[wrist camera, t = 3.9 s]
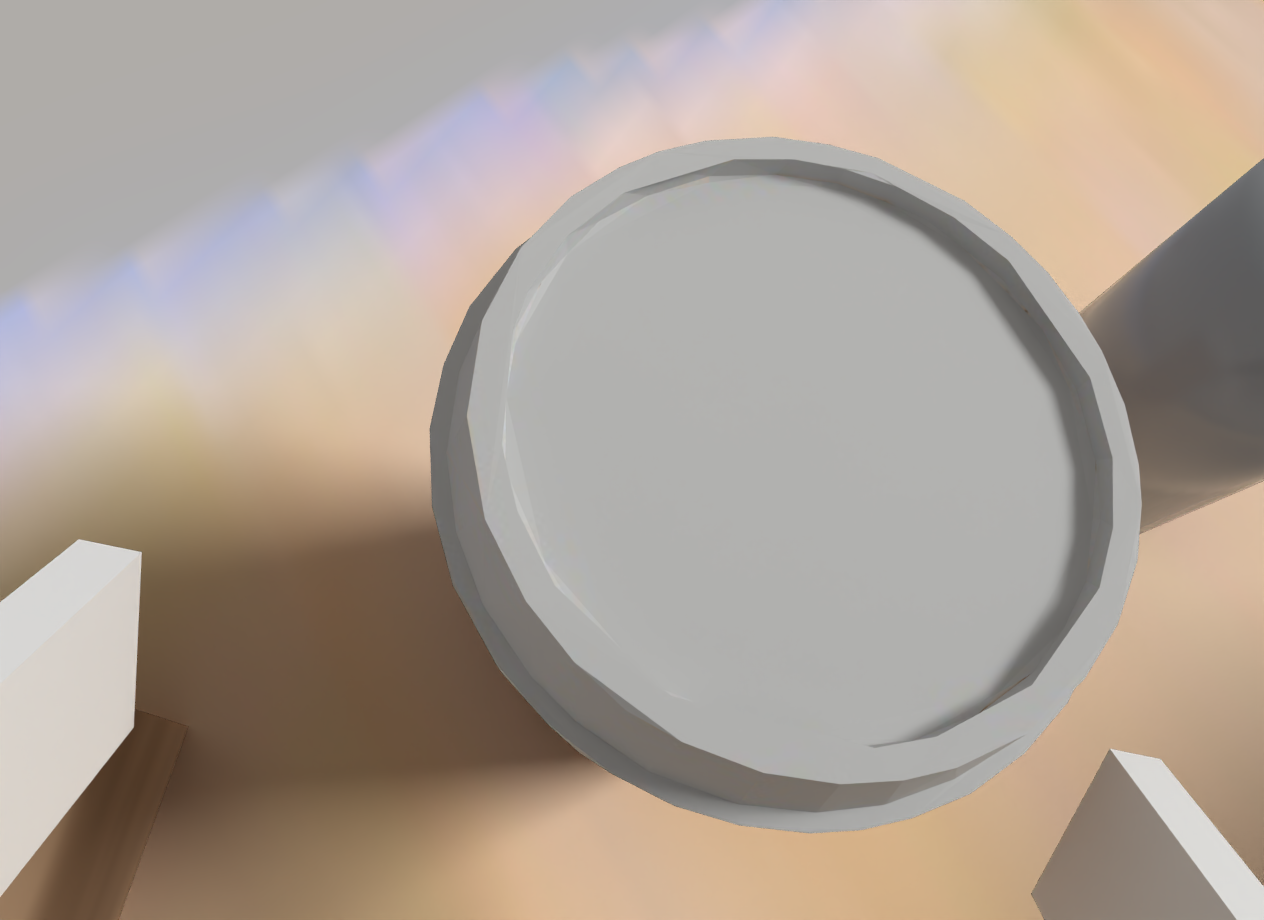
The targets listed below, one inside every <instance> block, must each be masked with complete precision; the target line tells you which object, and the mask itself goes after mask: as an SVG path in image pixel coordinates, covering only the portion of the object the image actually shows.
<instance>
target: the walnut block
mask: <svg viewBox="0 0 1264 920" xmlns="http://www.w3.org/2000/svg"><path fill="white" fill-rule="evenodd" d="M187 729H188V727H187V726H184V725H181V724H178V723H175V722H172V721H169V720H166V719H163V718H160V717H157V716H154V715H151V714H148V713H145V712H142V711H139V710H136V709H135V712H134V728H133V729H132V730H131V731H130V733H129V734H128V735H127V737H126V738H125V739H124V740H123V742H122V743H121V744H120V745H119V747H118V748H117V749H116V751H115V752H114V753H113V754H112V756H111V757H110V758H109V759H108V761H107V762H106V763H105V764H104V766H103V767H102V768H101V770H100V771H99V772H98V773H97V775H96V776H95V777H94V778H93V780H92V781H91V782H90V784H89V785H88V786H87V787H86V789H85V790H84V791H83V792H82V794H81V795H80V796H79V798H78V799H77V800H76V801H75V803H74V804H73V805H72V806H71V808H70V809H69V810H68V812H67V813H66V814H65V815H64V817H63V818H62V819H61V820H60V822H59V823H58V824H57V825H56V827H55V828H54V829H53V831H52V832H51V833H50V834H49V836H48V837H47V838H46V839H45V841H44V842H43V843H42V845H41V846H40V847H39V848H38V850H37V851H36V852H35V853H34V855H33V856H32V857H31V859H30V860H29V861H28V862H27V864H26V865H25V866H24V867H23V869H22V870H21V871H20V873H19V874H18V875H17V876H16V878H15V879H14V880H13V881H12V883H11V884H10V885H9V887H8V888H7V889H6V890H5V892H4V893H3V894H2V895H1V897H0V920H119V917H120V914H121V911H122V909H123V906H124V903H125V900H126V898H127V895H128V892H129V889H130V887H131V884H132V881H133V878H134V876H135V873H136V870H137V867H138V865H139V862H140V859H141V856H142V853H143V851H144V848H145V845H146V842H147V840H148V837H149V834H150V831H151V829H152V826H153V823H154V820H155V818H156V815H157V812H158V809H159V807H160V804H161V801H162V798H163V795H164V793H165V790H166V787H167V784H168V782H169V779H170V776H171V773H172V771H173V768H174V765H175V762H176V760H177V757H178V754H179V751H180V748H181V746H182V743H183V740H184V737H185V735H186V732H187Z"/></svg>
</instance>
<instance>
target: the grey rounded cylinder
mask: <svg viewBox="0 0 1264 920" xmlns="http://www.w3.org/2000/svg"><path fill="white" fill-rule="evenodd" d="M1079 314H1080V316H1081V317H1082V319H1083V321H1084V322H1085V324H1086V326H1087V327H1088V329H1089V331H1090V332H1091V334H1092V336H1093V337H1094V339H1095V340H1096V342H1097V344H1098V345H1099V347H1100V349H1101V350H1102V352H1103V355H1104V357H1105V359H1106V362H1107V364H1108V366H1109V369H1110V371H1111V373H1112V376H1113V378H1114V380H1115V383H1116V385H1117V388H1118V390H1119V392H1120V395H1121V397H1122V399H1123V402H1124V404H1125V408H1126V412H1127V416H1128V420H1129V425H1130V429H1131V433H1132V438H1133V442H1134V446H1135V450H1136V455H1137V459H1138V463H1139V474H1140V487H1141V501H1142V507H1141V520H1140V533H1143V532H1146V531H1148V530H1151V529H1153V528H1155V527H1158V526H1160V525H1162V524H1165V523H1167V522H1169V521H1172V520H1174V519H1176V518H1179V517H1181V516H1183V515H1186V514H1188V513H1190V512H1193V511H1195V510H1197V509H1200V508H1202V507H1204V506H1207V505H1209V504H1211V503H1214V502H1216V501H1218V500H1221V499H1223V498H1225V497H1228V496H1230V495H1232V494H1235V493H1237V492H1239V491H1242V490H1244V489H1246V488H1249V487H1251V486H1253V485H1256V484H1258V483H1260V482H1263V481H1264V159H1262V160H1261V161H1260V162H1259V163H1257V164H1256V165H1255V166H1254V167H1253V168H1251V169H1250V170H1249V171H1248V172H1247V173H1246V174H1244V175H1243V176H1242V177H1241V178H1240V179H1238V180H1237V181H1236V182H1235V183H1234V184H1232V185H1231V186H1230V187H1229V188H1228V189H1226V190H1225V191H1224V192H1223V193H1222V194H1220V195H1219V196H1218V197H1217V198H1216V199H1214V200H1213V201H1212V202H1211V203H1210V204H1208V205H1207V206H1206V207H1205V208H1204V209H1202V210H1201V211H1200V212H1199V213H1198V214H1196V215H1195V216H1194V217H1193V218H1192V219H1190V220H1189V221H1188V222H1187V223H1186V224H1185V225H1183V226H1182V227H1181V228H1180V229H1179V230H1177V231H1176V232H1175V233H1174V234H1173V235H1171V236H1170V237H1169V238H1168V239H1167V240H1165V241H1164V242H1163V243H1162V244H1161V245H1159V246H1158V247H1157V248H1156V249H1155V250H1153V251H1152V252H1151V253H1150V254H1149V255H1147V256H1146V257H1145V258H1144V259H1143V260H1141V261H1140V262H1139V263H1138V264H1137V265H1135V266H1134V267H1133V268H1132V269H1131V270H1130V271H1128V272H1127V273H1126V274H1125V275H1124V276H1122V277H1121V278H1120V279H1119V280H1118V281H1116V282H1115V283H1114V284H1113V285H1112V286H1110V287H1109V288H1108V289H1107V290H1106V291H1104V292H1103V293H1102V294H1101V295H1100V296H1098V297H1097V298H1096V299H1095V300H1094V301H1092V302H1091V303H1090V304H1089V305H1088V306H1086V307H1085V308H1084V309H1083V310H1082V311H1080V312H1079Z"/></svg>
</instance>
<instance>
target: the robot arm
mask: <svg viewBox="0 0 1264 920" xmlns="http://www.w3.org/2000/svg"><path fill="white" fill-rule="evenodd" d="M141 556H142V552H139V551H134V550H129V549H124V548H119V547H114V546H110V545H105V544H100V543H95V542H90V541H85V540H80V539H78V540H77V541H76V542H75V543H73V544H72V545H71V546H70V547H68V548H67V549H66V550H65V551H63V552H62V553H61V554H60V555H59V556H57V557H56V558H55V559H54V560H52V561H51V562H50V563H49V564H47V565H46V566H45V567H44V568H42V569H41V570H40V571H39V572H37V573H36V574H35V575H34V576H32V577H31V578H30V579H29V580H27V581H26V582H25V583H24V584H22V585H21V586H20V587H19V588H17V589H16V590H15V591H14V592H12V593H11V594H10V595H9V596H7V597H6V598H5V599H4V600H2V601H1V602H0V897H1V895H2V894H3V893H4V892H5V890H6V889H7V888H8V887H9V885H10V884H11V883H12V881H13V880H14V879H15V878H16V876H17V875H18V874H19V873H20V871H21V870H22V869H23V867H24V866H25V865H26V864H27V862H28V861H29V860H30V859H31V857H32V856H33V855H34V853H35V852H36V851H37V850H38V848H39V847H40V846H41V845H42V843H43V842H44V841H45V839H46V838H47V837H48V836H49V834H50V833H51V832H52V831H53V829H54V828H55V827H56V825H57V824H58V823H59V822H60V820H61V819H62V818H63V817H64V815H65V814H66V813H67V812H68V810H69V809H70V808H71V806H72V805H73V804H74V803H75V801H76V800H77V799H78V798H79V796H80V795H81V794H82V792H83V791H84V790H85V789H86V787H87V786H88V785H89V784H90V782H91V781H92V780H93V778H94V777H95V776H96V775H97V773H98V772H99V771H100V770H101V768H102V767H103V766H104V764H105V763H106V762H107V761H108V759H109V758H110V757H111V756H112V754H113V753H114V752H115V751H116V749H117V748H118V747H119V745H120V744H121V743H122V742H123V740H124V739H125V738H126V737H127V735H128V734H129V733H130V731H131V730H132V729H133V728H134V712H135V690H136V667H137V645H138V623H139V601H140V579H141ZM1031 894H1032V896H1033V898H1034V900H1035V902H1036V904H1037V906H1038V908H1039V910H1040V912H1041V914H1042V916H1043V918H1044V920H1264V886H1263V885H1262V884H1261V883H1260V881H1259V880H1258V879H1257V878H1256V877H1255V875H1254V874H1253V873H1252V872H1251V870H1250V869H1249V868H1248V867H1247V865H1246V864H1245V863H1244V862H1243V860H1242V859H1241V858H1240V857H1239V855H1238V854H1237V853H1236V852H1235V851H1234V849H1233V848H1232V847H1231V846H1230V844H1229V843H1228V842H1227V841H1226V839H1225V838H1224V837H1223V836H1222V834H1221V833H1220V832H1219V831H1218V829H1217V828H1216V827H1215V826H1214V825H1213V823H1212V822H1211V821H1210V820H1209V818H1208V817H1207V816H1206V815H1205V813H1204V812H1203V811H1202V810H1201V808H1200V807H1199V806H1198V805H1197V803H1196V802H1195V801H1194V800H1193V799H1192V797H1191V796H1190V795H1189V794H1188V792H1187V791H1186V790H1185V789H1184V787H1183V786H1182V785H1181V784H1180V782H1179V781H1178V780H1177V779H1176V777H1175V776H1174V775H1173V774H1172V773H1171V771H1170V770H1169V769H1168V768H1167V766H1166V765H1165V764H1164V763H1163V761H1162V760H1161V759H1158V758H1153V757H1148V756H1143V755H1138V754H1133V753H1128V752H1123V751H1119V750H1114V749H1109V751H1108V753H1107V755H1106V757H1105V759H1104V760H1103V762H1102V764H1101V766H1100V768H1099V770H1098V771H1097V773H1096V775H1095V777H1094V779H1093V781H1092V783H1091V784H1090V786H1089V788H1088V790H1087V792H1086V794H1085V795H1084V797H1083V799H1082V801H1081V803H1080V805H1079V807H1078V808H1077V810H1076V812H1075V814H1074V816H1073V818H1072V819H1071V821H1070V823H1069V825H1068V827H1067V829H1066V830H1065V832H1064V834H1063V836H1062V838H1061V840H1060V842H1059V843H1058V845H1057V847H1056V849H1055V851H1054V853H1053V854H1052V856H1051V858H1050V860H1049V862H1048V864H1047V865H1046V867H1045V869H1044V871H1043V873H1042V875H1041V877H1040V878H1039V880H1038V882H1037V884H1036V886H1035V888H1034V889H1033V891H1032V893H1031Z"/></svg>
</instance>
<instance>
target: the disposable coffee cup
mask: <svg viewBox="0 0 1264 920" xmlns="http://www.w3.org/2000/svg"><path fill="white" fill-rule="evenodd" d="M430 453H431V487H432V508H433V512H434V516H435V519H436V523H437V527H438V531H439V535H440V538H441V542H442V546H443V550H444V554H445V557H446V561H447V565H448V569H449V573H450V576H451V580H452V584H453V586H454V588H455V590H456V592H457V594H458V596H459V597H460V599H461V601H462V603H463V605H464V607H465V608H466V610H467V612H468V614H469V616H470V618H471V619H472V621H473V623H474V625H475V627H476V629H477V630H478V632H479V634H480V636H481V638H482V639H483V641H484V643H485V645H486V647H487V649H488V650H489V652H490V654H491V656H492V658H493V660H494V661H495V663H496V665H497V666H498V668H499V669H500V671H501V672H502V674H503V675H504V676H505V677H506V678H507V679H508V680H509V681H510V683H511V684H512V685H513V686H514V687H515V688H516V689H517V690H518V691H519V693H520V694H521V695H522V696H523V697H524V698H525V699H526V700H527V702H528V703H529V704H530V705H531V706H532V707H533V708H534V709H535V710H536V712H537V713H538V714H539V715H540V716H541V717H542V718H543V719H544V720H545V722H546V723H547V724H548V725H549V726H550V727H552V728H553V729H554V730H555V731H556V732H557V733H558V734H559V735H560V736H562V737H563V738H564V739H565V740H566V741H567V742H568V743H569V744H570V745H572V746H573V747H574V748H575V749H576V750H577V751H578V752H579V753H581V754H582V755H584V756H585V757H587V758H588V759H590V760H591V761H593V762H595V763H596V764H598V765H599V766H601V767H602V768H604V769H605V770H607V771H608V772H610V773H612V774H613V775H615V776H617V777H619V778H621V779H623V780H625V781H627V782H629V783H631V784H633V785H635V786H636V787H638V788H640V789H642V790H644V791H646V792H648V793H650V794H652V795H654V796H656V797H658V798H660V799H661V800H663V801H665V802H668V803H670V804H672V805H674V806H677V807H680V808H683V809H687V810H690V811H693V812H697V813H700V814H703V815H707V816H710V817H713V818H717V819H720V820H723V821H727V822H730V823H733V824H737V825H740V826H749V827H758V828H767V829H776V830H785V831H794V832H803V833H823V832H838V831H854V830H863V829H868V828H872V827H876V826H881V825H885V824H889V823H893V822H898V821H902V820H906V819H910V818H913V817H916V816H918V815H921V814H923V813H925V812H928V811H930V810H933V809H935V808H937V807H940V806H942V805H945V804H947V803H949V802H952V801H954V800H957V799H959V798H961V797H964V796H966V795H969V794H971V793H972V792H973V791H975V790H976V789H977V788H979V787H980V786H981V785H983V784H984V783H985V782H987V781H988V780H989V779H991V778H992V777H993V776H995V775H996V774H997V773H999V772H1000V771H1001V770H1003V769H1004V768H1005V767H1007V766H1008V765H1009V764H1011V763H1012V762H1013V761H1015V760H1016V759H1017V758H1019V757H1020V756H1021V755H1023V754H1024V753H1025V752H1026V751H1027V750H1028V748H1029V747H1030V746H1031V745H1032V744H1033V743H1034V741H1035V740H1036V739H1037V738H1038V737H1039V736H1040V734H1041V733H1042V732H1043V731H1044V730H1045V728H1046V727H1047V726H1048V725H1049V724H1050V723H1051V721H1052V720H1053V719H1054V718H1055V717H1056V716H1057V714H1058V713H1059V712H1060V711H1061V710H1062V709H1063V707H1064V706H1065V705H1066V704H1067V703H1068V701H1069V699H1070V696H1071V694H1072V692H1073V690H1074V688H1076V687H1077V686H1078V685H1079V684H1080V683H1081V682H1082V681H1083V680H1084V679H1085V677H1086V676H1087V674H1088V672H1089V671H1090V669H1091V667H1092V666H1093V664H1094V662H1095V661H1096V659H1097V658H1098V656H1099V654H1100V653H1101V651H1102V649H1103V648H1104V646H1105V644H1106V643H1107V641H1108V639H1109V638H1110V636H1111V634H1112V633H1113V631H1114V630H1115V628H1116V626H1117V625H1118V621H1119V618H1120V615H1121V612H1122V609H1123V605H1124V602H1125V599H1126V596H1127V592H1128V589H1129V586H1130V583H1131V580H1132V576H1133V573H1134V570H1135V567H1136V563H1137V559H1138V546H1139V533H1140V520H1141V507H1142V501H1141V487H1140V474H1139V463H1138V459H1137V455H1136V450H1135V446H1134V442H1133V438H1132V433H1131V429H1130V425H1129V420H1128V416H1127V412H1126V408H1125V404H1124V402H1123V399H1122V397H1121V395H1120V392H1119V390H1118V388H1117V385H1116V383H1115V380H1114V378H1113V376H1112V373H1111V371H1110V369H1109V366H1108V364H1107V362H1106V359H1105V357H1104V355H1103V352H1102V350H1101V349H1100V347H1099V345H1098V344H1097V342H1096V340H1095V339H1094V337H1093V336H1092V334H1091V332H1090V331H1089V329H1088V327H1087V326H1086V324H1085V322H1084V321H1083V319H1082V317H1081V316H1080V314H1079V313H1078V311H1077V310H1076V309H1075V307H1074V306H1073V305H1072V304H1071V302H1070V301H1069V300H1068V298H1067V297H1066V296H1065V294H1064V293H1063V292H1062V291H1061V289H1060V288H1059V287H1058V285H1057V284H1056V283H1055V281H1054V280H1053V279H1052V277H1051V276H1050V275H1049V274H1048V272H1047V271H1046V270H1045V269H1044V268H1043V267H1042V266H1041V265H1040V264H1039V263H1038V262H1037V261H1036V260H1035V259H1033V258H1032V257H1031V256H1030V255H1029V254H1028V253H1027V252H1026V251H1025V250H1024V249H1023V248H1022V247H1021V246H1020V245H1019V244H1018V243H1017V242H1016V241H1015V240H1014V239H1013V238H1012V237H1011V236H1010V235H1009V234H1007V233H1006V232H1005V231H1003V230H1002V229H1001V228H999V227H998V226H997V225H995V224H994V223H993V222H991V221H990V220H989V219H988V218H986V217H985V216H984V215H982V214H981V213H980V212H978V211H977V210H976V209H974V208H973V207H972V206H970V205H969V204H968V203H966V202H965V201H964V200H962V199H960V198H958V197H955V196H953V195H951V194H949V193H947V192H945V191H943V190H941V189H939V188H937V187H935V186H933V185H931V184H929V183H927V182H925V181H923V180H921V179H919V178H917V177H915V176H913V175H911V174H909V173H907V172H905V171H903V170H901V169H899V168H897V167H895V166H893V165H891V164H889V163H887V162H885V161H883V160H881V159H879V158H876V157H872V156H868V155H865V154H861V153H857V152H854V151H850V150H846V149H843V148H839V147H835V146H832V145H827V144H820V143H813V142H806V141H799V140H792V139H785V138H778V137H763V138H746V139H729V140H711V141H703V142H699V143H694V144H690V145H685V146H681V147H677V148H672V149H668V150H663V151H659V152H656V153H654V154H651V155H649V156H647V157H644V158H642V159H639V160H637V161H634V162H632V163H629V164H627V165H624V166H622V167H619V168H618V169H616V170H614V171H613V172H611V173H609V174H608V175H606V176H604V177H603V178H601V179H599V180H598V181H596V182H594V183H593V184H591V185H589V186H588V187H586V188H585V189H583V190H581V191H580V192H578V193H576V194H575V195H573V196H571V197H570V198H569V199H568V200H567V201H566V202H565V203H564V204H563V205H562V206H561V207H560V208H559V209H558V210H557V211H556V213H555V214H554V215H553V216H552V217H551V218H550V219H549V220H548V221H547V222H546V223H545V224H544V225H543V226H542V227H541V228H540V229H539V230H538V231H537V232H536V233H535V234H534V235H533V236H532V237H531V238H530V239H528V240H527V241H526V242H524V243H523V244H522V245H521V246H519V247H518V248H517V249H515V251H514V252H513V253H512V254H511V256H510V257H509V258H508V259H507V261H506V262H505V263H504V264H503V266H502V267H501V268H500V269H499V271H498V272H497V273H496V274H495V276H494V277H493V278H492V279H491V281H490V282H489V283H488V284H487V286H486V287H485V288H484V289H483V291H482V292H481V293H480V294H479V296H478V297H477V298H476V299H475V301H474V302H473V303H472V304H471V305H470V307H469V309H468V311H467V314H466V316H465V318H464V320H463V323H462V325H461V327H460V329H459V332H458V334H457V336H456V338H455V341H454V343H453V345H452V347H451V350H450V352H449V354H448V356H447V359H446V361H445V363H444V366H443V370H442V375H441V379H440V384H439V389H438V393H437V398H436V402H435V407H434V411H433V416H432V421H431V425H430Z"/></svg>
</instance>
